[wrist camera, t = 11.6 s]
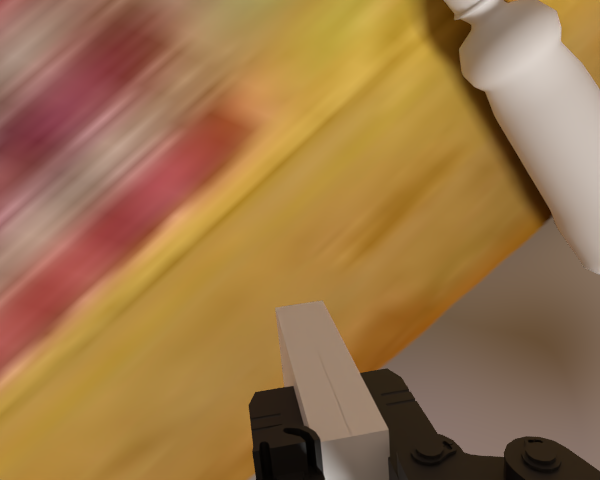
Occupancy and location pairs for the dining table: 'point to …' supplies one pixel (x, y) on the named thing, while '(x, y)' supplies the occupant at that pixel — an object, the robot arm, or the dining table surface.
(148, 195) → the dining table surface
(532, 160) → the bottle
